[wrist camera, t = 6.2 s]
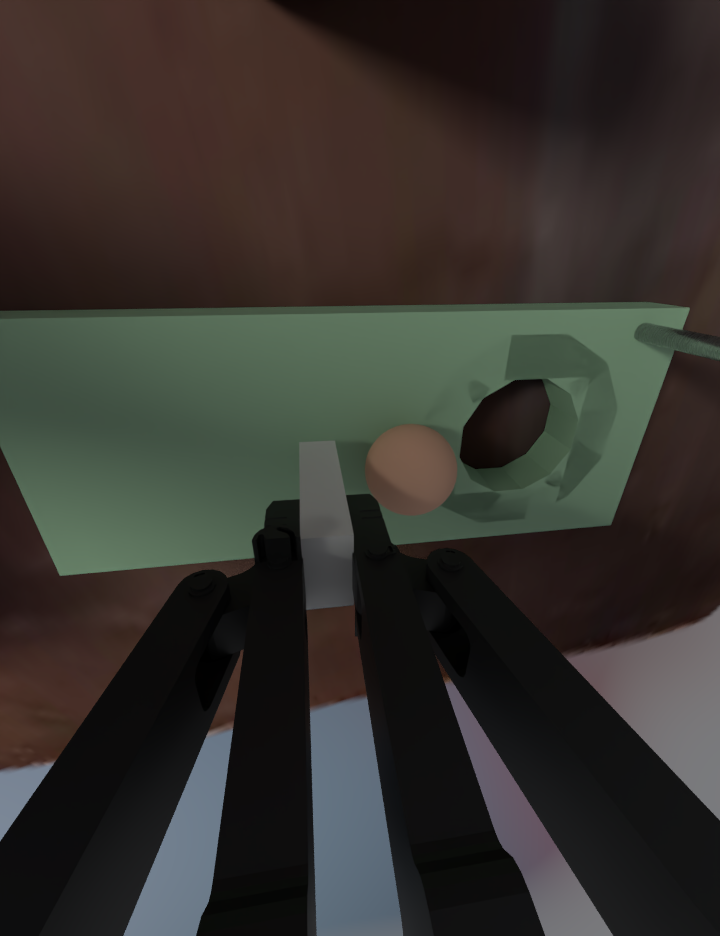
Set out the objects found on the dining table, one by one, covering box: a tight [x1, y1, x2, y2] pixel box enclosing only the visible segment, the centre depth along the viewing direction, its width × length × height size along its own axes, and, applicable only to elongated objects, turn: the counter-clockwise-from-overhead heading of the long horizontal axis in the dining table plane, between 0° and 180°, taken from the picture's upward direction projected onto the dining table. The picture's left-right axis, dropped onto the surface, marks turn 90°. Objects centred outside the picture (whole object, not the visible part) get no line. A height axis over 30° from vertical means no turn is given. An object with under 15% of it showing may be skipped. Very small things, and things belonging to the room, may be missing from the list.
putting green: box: [0, 302, 690, 576], centre depth 20 cm, size 30×12×2 cm, turn 90°
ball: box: [365, 424, 457, 516], centre depth 18 cm, size 4×4×4 cm
